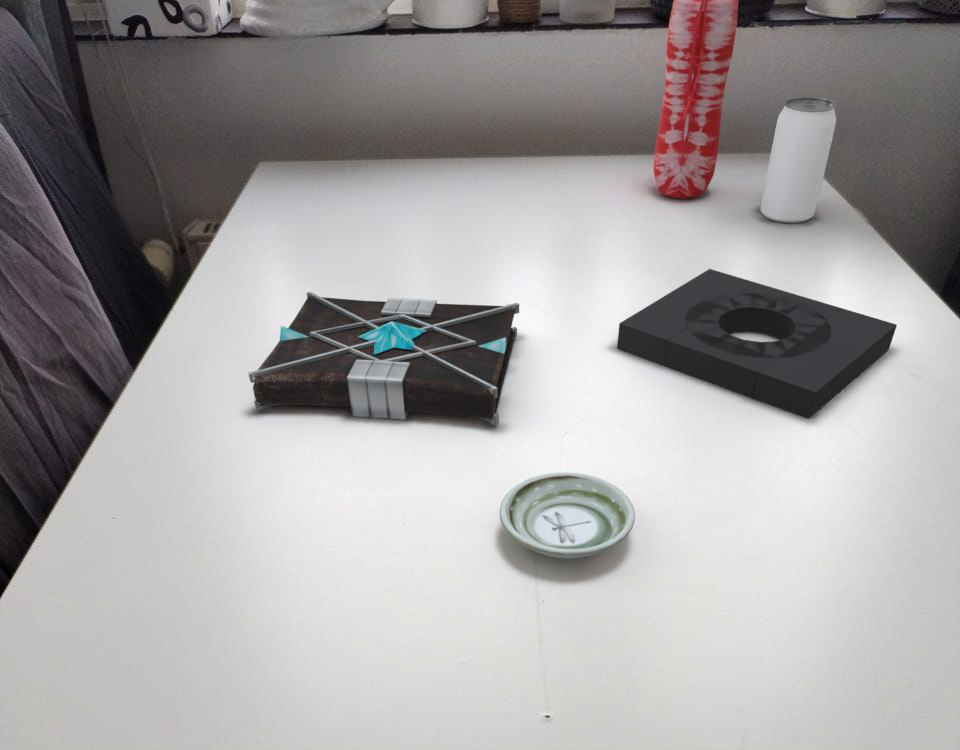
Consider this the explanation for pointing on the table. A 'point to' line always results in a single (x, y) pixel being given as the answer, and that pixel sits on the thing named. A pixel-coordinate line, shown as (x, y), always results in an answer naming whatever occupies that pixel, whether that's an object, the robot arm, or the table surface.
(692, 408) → the table surface
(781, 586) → the table surface
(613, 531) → the saucer
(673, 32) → the red tall rounded piece
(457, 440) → the table surface
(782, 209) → the can
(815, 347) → the pad
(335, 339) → the book
